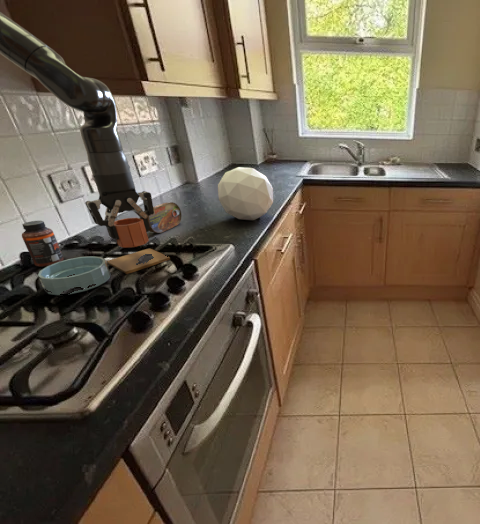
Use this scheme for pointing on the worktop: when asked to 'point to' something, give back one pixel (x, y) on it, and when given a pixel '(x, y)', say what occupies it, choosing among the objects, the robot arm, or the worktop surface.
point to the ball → (245, 193)
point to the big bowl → (85, 275)
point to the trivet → (129, 261)
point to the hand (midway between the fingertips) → (131, 235)
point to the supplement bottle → (41, 244)
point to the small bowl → (131, 232)
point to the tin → (164, 217)
